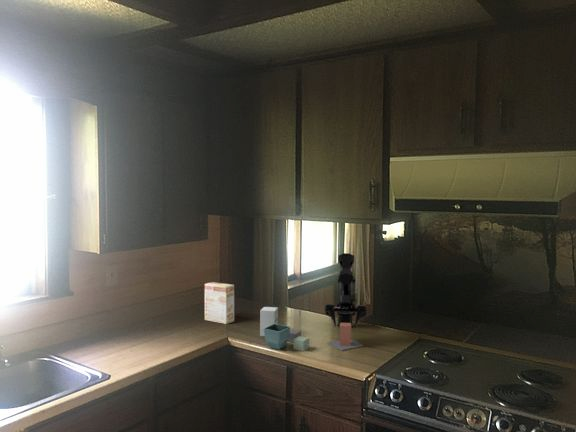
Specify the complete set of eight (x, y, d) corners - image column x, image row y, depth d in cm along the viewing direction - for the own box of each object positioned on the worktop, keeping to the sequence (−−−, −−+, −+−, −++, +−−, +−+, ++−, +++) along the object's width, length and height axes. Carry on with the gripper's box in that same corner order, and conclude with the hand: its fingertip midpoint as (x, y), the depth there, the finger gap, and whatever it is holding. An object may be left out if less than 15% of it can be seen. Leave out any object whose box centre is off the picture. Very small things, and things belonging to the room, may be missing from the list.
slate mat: (348, 339, 233) (348, 338, 233) (363, 346, 223) (363, 345, 223) (327, 343, 226) (327, 342, 226) (342, 350, 217) (342, 349, 217)
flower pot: (280, 352, 215) (280, 331, 215) (263, 348, 220) (263, 328, 219) (290, 346, 223) (290, 326, 222) (274, 342, 227) (274, 323, 227)
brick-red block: (339, 341, 228) (339, 322, 227) (350, 342, 227) (351, 322, 226) (339, 345, 223) (339, 325, 222) (350, 346, 222) (351, 326, 221)
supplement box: (274, 337, 235) (274, 311, 235) (259, 336, 237) (259, 310, 236) (278, 332, 243) (278, 307, 242) (263, 331, 244) (263, 306, 243)
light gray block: (291, 339, 234) (291, 329, 233) (300, 340, 231) (300, 331, 231) (285, 341, 229) (285, 332, 229) (295, 343, 227) (295, 334, 226)
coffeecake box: (234, 321, 262) (234, 284, 261) (226, 324, 256) (226, 287, 255) (213, 317, 270) (212, 281, 269) (204, 320, 264) (203, 283, 263)
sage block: (298, 346, 223) (298, 336, 223) (308, 348, 221) (308, 338, 221) (293, 349, 219) (293, 339, 219) (303, 351, 217) (303, 341, 216)
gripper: (325, 286, 230) (324, 317, 220) (366, 288, 227) (367, 318, 217) (326, 299, 238) (324, 329, 228) (365, 300, 236) (366, 330, 226)
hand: (345, 326), depth 225 cm, fingers open, 9 cm apart
